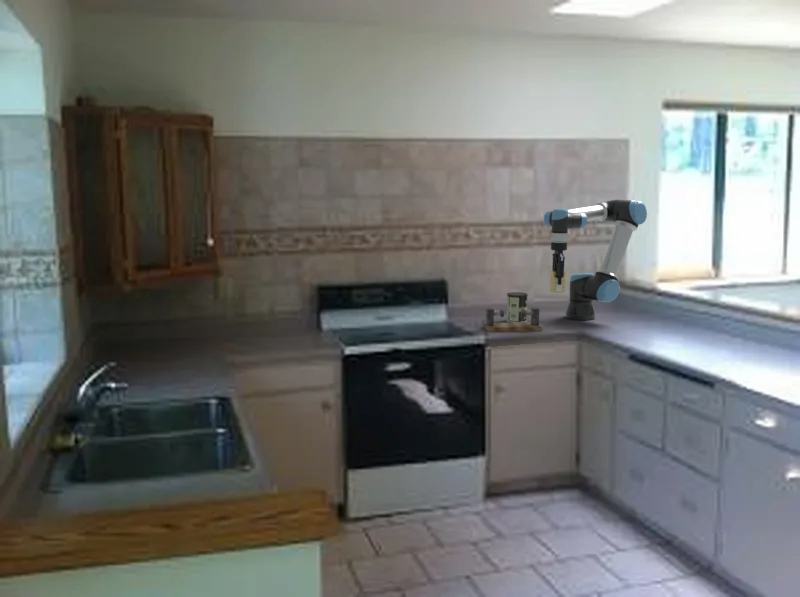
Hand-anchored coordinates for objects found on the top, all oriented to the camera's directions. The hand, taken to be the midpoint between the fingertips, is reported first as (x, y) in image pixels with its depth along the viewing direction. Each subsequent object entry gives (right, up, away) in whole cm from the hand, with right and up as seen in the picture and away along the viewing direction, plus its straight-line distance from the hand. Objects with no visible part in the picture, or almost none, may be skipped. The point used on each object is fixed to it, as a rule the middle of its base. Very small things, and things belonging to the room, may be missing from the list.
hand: (557, 290), depth 383 cm
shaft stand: (-21, -19, +2) cm, 28 cm away
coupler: (0, -1, 0) cm, 1 cm away
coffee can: (-16, -16, +21) cm, 31 cm away
